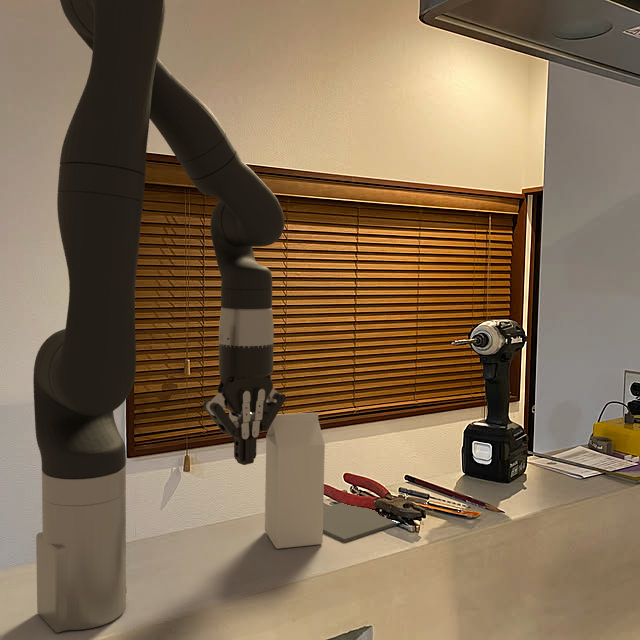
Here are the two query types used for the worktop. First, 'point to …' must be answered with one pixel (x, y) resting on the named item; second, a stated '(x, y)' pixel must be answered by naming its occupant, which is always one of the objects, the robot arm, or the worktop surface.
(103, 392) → the robot arm
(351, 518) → the mat
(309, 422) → the milk carton
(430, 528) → the worktop surface
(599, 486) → the worktop surface
